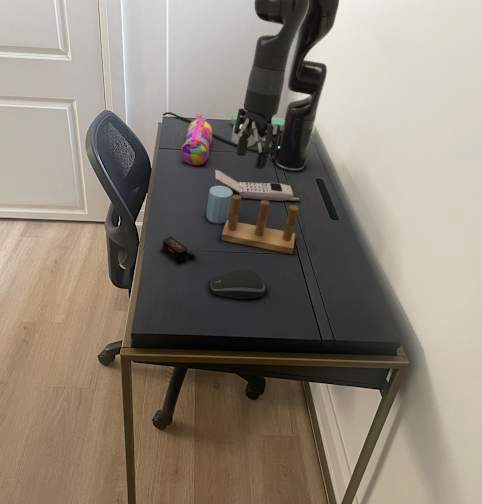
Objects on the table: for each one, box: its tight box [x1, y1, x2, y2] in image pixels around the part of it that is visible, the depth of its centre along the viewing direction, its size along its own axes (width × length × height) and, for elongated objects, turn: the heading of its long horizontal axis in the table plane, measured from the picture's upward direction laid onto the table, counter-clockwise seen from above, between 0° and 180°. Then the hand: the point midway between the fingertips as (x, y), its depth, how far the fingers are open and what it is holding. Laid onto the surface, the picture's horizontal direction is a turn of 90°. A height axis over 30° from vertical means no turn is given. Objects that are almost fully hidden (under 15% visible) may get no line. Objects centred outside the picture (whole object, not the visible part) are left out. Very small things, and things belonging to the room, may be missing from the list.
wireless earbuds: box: [162, 236, 196, 263], centre depth 116 cm, size 5×7×3 cm, turn 43°
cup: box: [205, 185, 234, 224], centre depth 130 cm, size 6×6×8 cm
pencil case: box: [180, 114, 214, 166], centre depth 161 cm, size 22×9×9 cm, turn 178°
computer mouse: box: [209, 268, 266, 300], centre depth 108 cm, size 7×12×4 cm, turn 94°
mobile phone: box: [214, 169, 300, 202], centre depth 143 cm, size 6×6×25 cm
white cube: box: [231, 124, 256, 148], centre depth 172 cm, size 6×6×6 cm
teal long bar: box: [230, 112, 285, 133], centre depth 185 cm, size 6×6×25 cm
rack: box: [220, 194, 299, 255], centre depth 123 cm, size 18×7×11 cm, turn 79°
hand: (249, 161), depth 113 cm, fingers open, 8 cm apart
